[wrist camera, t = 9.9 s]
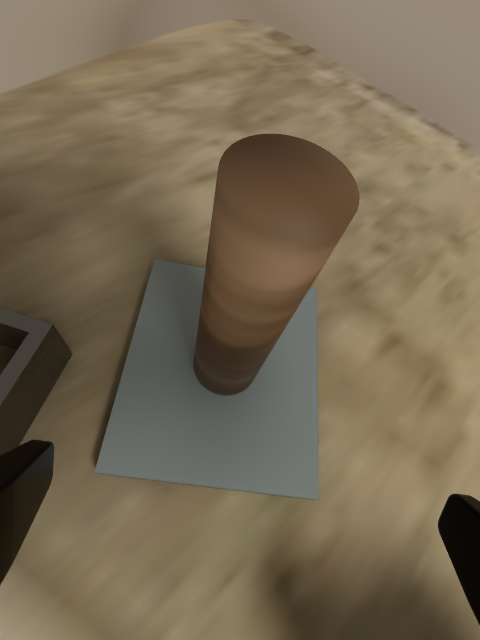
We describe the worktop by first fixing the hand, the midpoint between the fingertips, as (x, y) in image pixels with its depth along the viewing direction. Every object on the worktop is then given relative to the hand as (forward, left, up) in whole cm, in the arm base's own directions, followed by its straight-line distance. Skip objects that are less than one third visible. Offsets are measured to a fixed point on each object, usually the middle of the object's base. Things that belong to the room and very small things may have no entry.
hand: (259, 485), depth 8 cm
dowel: (+7, +1, -12) cm, 14 cm away
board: (+7, +1, -13) cm, 15 cm away
